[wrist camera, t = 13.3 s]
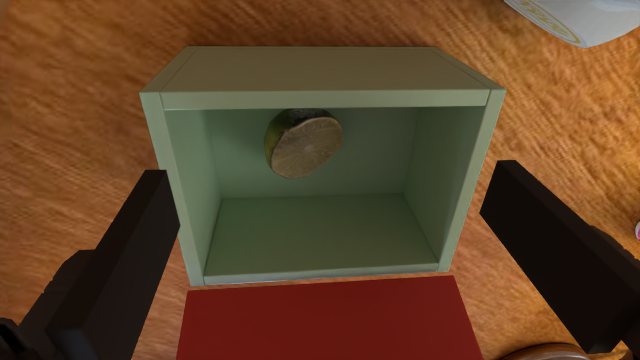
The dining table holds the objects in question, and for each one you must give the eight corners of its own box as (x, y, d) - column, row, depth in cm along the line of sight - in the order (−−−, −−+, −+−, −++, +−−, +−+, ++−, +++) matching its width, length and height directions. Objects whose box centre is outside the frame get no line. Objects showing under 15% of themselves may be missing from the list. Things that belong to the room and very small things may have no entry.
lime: (255, 116, 19) (258, 193, 21) (345, 124, 18) (337, 200, 21) (271, 90, 22) (272, 158, 25) (346, 96, 22) (339, 164, 25)
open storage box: (186, 45, 21) (138, 92, 14) (437, 46, 22) (508, 89, 15) (213, 201, 27) (190, 286, 20) (408, 194, 28) (448, 271, 22)
